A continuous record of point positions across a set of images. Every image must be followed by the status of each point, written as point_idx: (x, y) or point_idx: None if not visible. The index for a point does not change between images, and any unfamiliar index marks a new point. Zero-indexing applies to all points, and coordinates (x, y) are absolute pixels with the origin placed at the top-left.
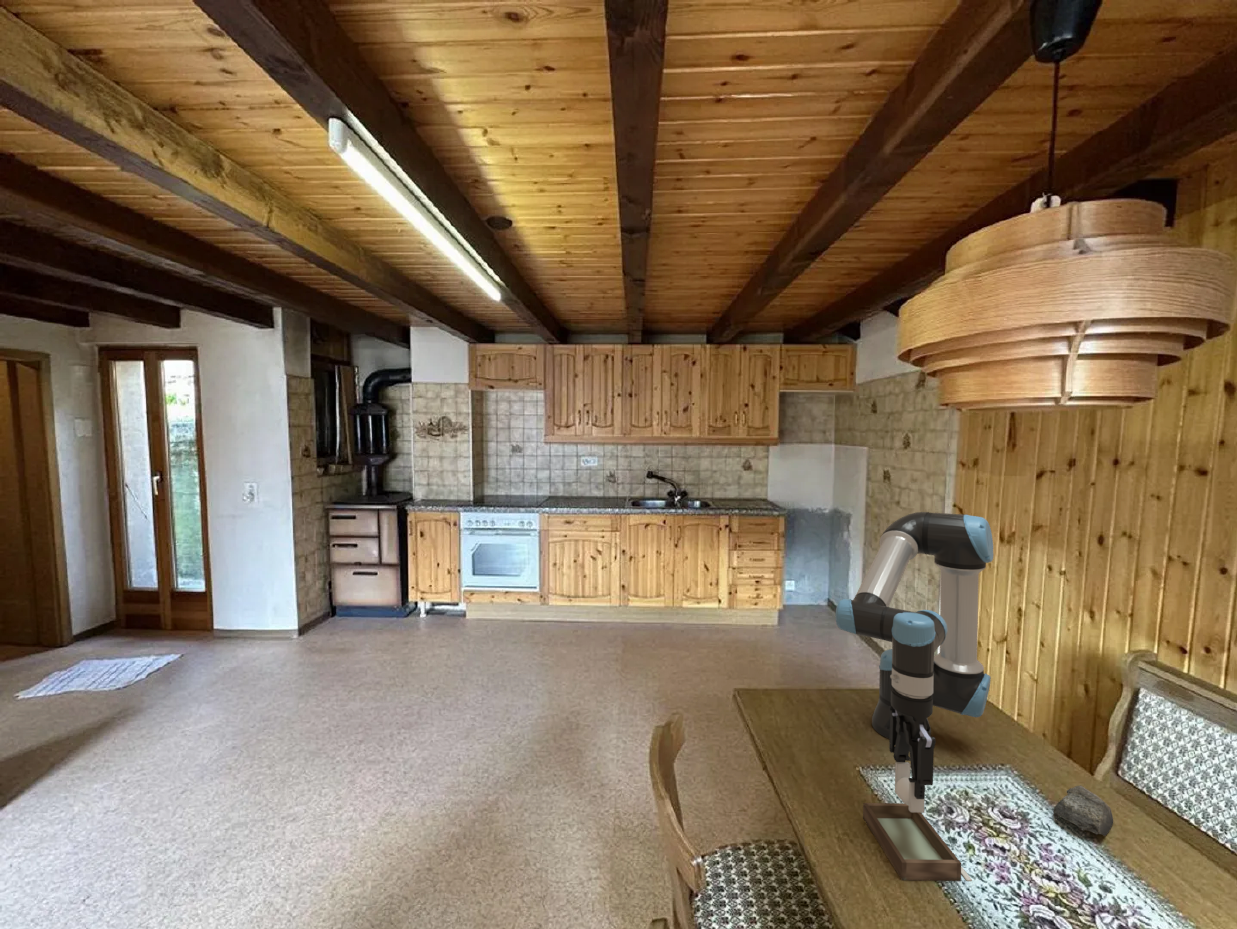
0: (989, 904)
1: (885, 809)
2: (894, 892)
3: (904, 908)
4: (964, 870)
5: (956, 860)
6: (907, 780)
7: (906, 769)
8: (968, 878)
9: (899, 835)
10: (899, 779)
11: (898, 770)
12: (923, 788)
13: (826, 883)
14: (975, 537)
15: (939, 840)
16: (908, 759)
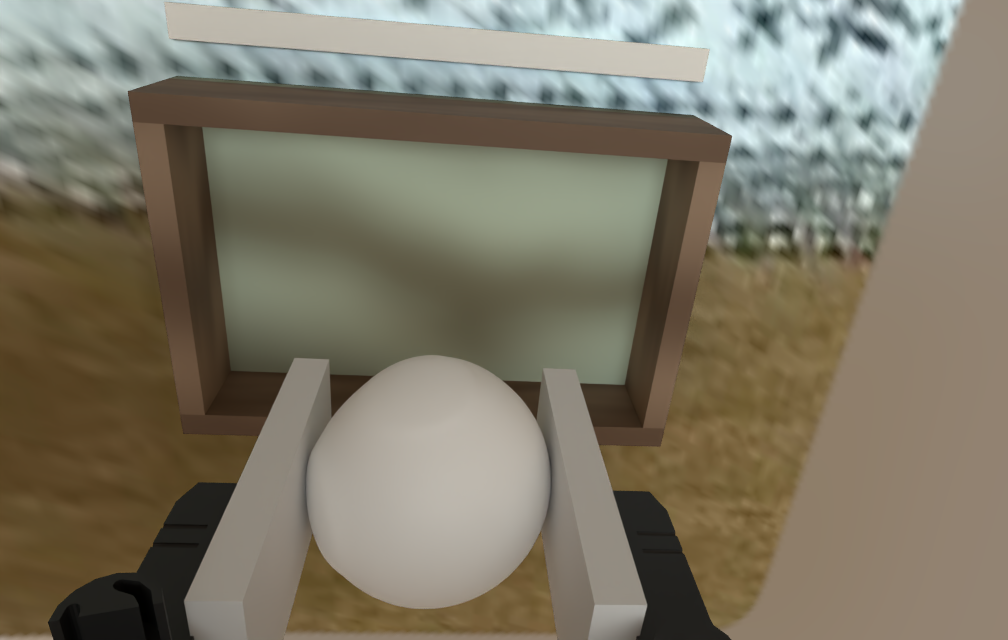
0: (852, 64)
1: (200, 305)
2: (686, 449)
3: (761, 449)
4: (643, 45)
5: (706, 151)
6: (431, 588)
7: (265, 573)
8: (698, 64)
9: (367, 273)
10: (300, 538)
11: (278, 636)
12: (693, 602)
13: None
14: None
15: (533, 149)
16: (160, 634)
